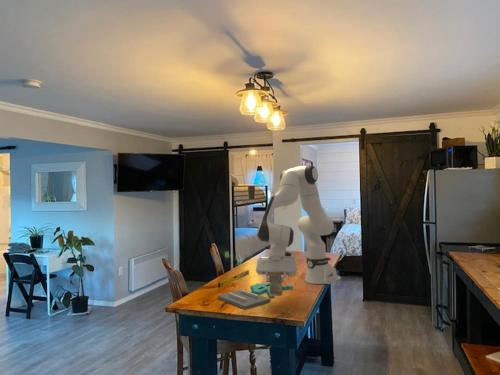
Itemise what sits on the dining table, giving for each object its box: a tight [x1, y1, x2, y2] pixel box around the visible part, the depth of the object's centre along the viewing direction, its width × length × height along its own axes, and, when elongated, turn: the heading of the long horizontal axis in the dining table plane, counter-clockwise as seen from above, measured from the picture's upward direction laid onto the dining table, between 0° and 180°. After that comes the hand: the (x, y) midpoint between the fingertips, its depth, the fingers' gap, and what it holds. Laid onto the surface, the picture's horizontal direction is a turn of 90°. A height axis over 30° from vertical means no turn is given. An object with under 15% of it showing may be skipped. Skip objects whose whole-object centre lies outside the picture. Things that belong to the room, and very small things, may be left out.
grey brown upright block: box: [268, 271, 284, 297], centre depth 175 cm, size 5×6×11 cm
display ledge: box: [217, 288, 271, 310], centre depth 186 cm, size 16×24×3 cm, turn 38°
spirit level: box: [217, 269, 250, 288], centre depth 225 cm, size 33×1×3 cm, turn 150°
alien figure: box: [249, 282, 294, 299], centre depth 201 cm, size 20×2×20 cm
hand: (275, 281), depth 174 cm, fingers closed on grey brown upright block, 5 cm apart
